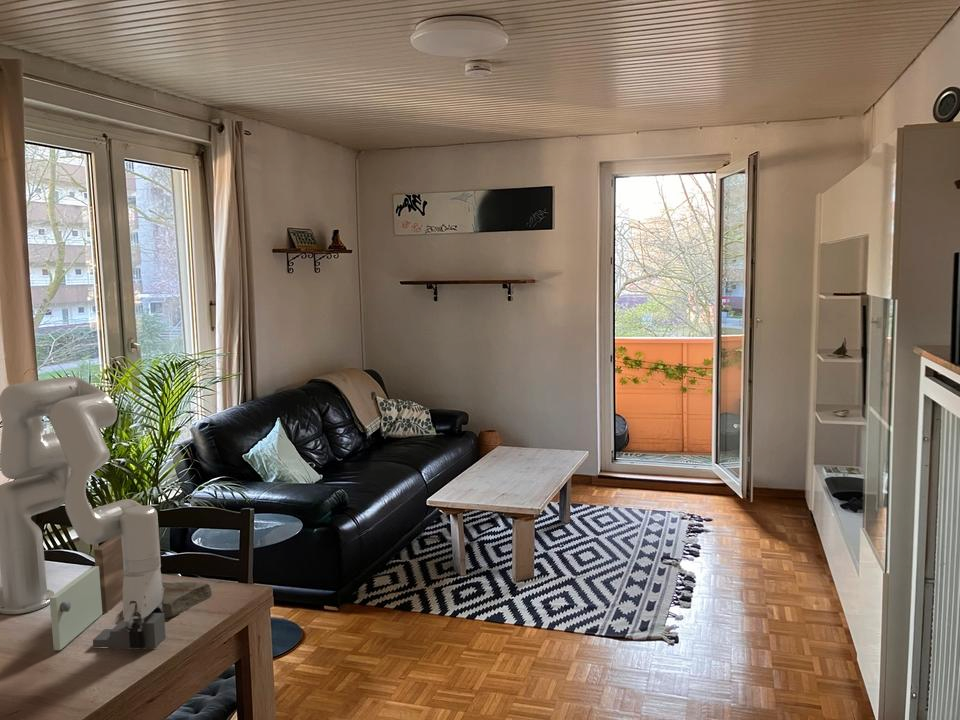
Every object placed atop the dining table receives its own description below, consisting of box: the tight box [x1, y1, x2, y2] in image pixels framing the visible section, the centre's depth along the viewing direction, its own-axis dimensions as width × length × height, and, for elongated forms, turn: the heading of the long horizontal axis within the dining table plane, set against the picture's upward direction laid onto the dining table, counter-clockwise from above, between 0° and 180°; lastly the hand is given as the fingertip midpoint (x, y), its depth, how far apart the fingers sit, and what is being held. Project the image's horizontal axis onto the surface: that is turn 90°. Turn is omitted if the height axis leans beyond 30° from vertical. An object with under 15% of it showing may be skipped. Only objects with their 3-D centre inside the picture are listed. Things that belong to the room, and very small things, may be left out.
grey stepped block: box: [92, 613, 166, 649], centre depth 173 cm, size 14×5×6 cm, turn 88°
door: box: [49, 565, 103, 651], centre depth 177 cm, size 3×18×12 cm, turn 178°
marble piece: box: [162, 581, 213, 620], centre depth 192 cm, size 17×15×4 cm
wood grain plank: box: [93, 536, 125, 614], centre depth 194 cm, size 2×14×16 cm, turn 178°
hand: (147, 637), depth 173 cm, fingers open, 8 cm apart
